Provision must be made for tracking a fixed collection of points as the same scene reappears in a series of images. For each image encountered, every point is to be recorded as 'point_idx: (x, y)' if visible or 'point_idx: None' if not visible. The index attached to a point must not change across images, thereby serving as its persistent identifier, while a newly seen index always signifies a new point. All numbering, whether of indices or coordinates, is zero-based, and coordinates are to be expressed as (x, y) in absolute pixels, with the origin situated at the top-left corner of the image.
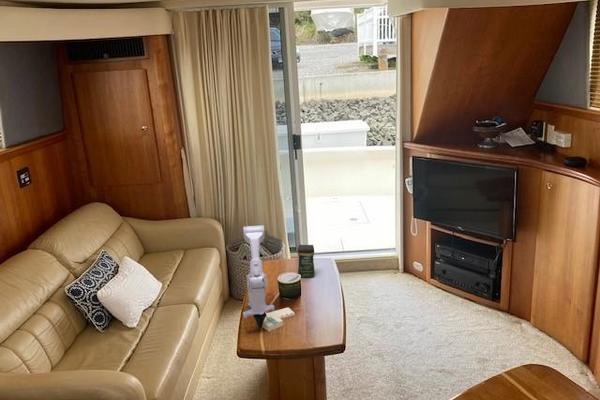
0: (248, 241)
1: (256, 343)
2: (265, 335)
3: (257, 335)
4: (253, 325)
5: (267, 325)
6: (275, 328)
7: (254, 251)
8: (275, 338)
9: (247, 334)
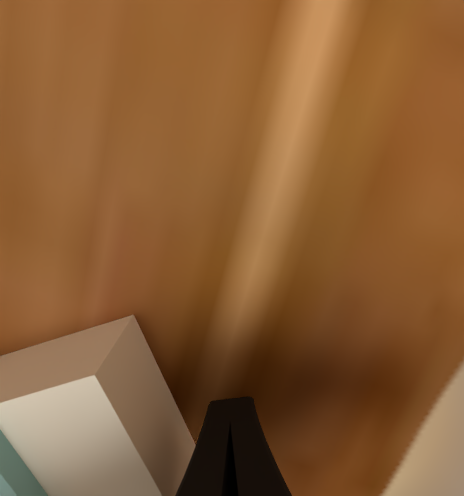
0: None
1: (410, 46)
2: (203, 233)
3: (310, 276)
4: None
5: (110, 405)
6: (26, 350)
7: None
8: (62, 75)
9: (420, 345)
